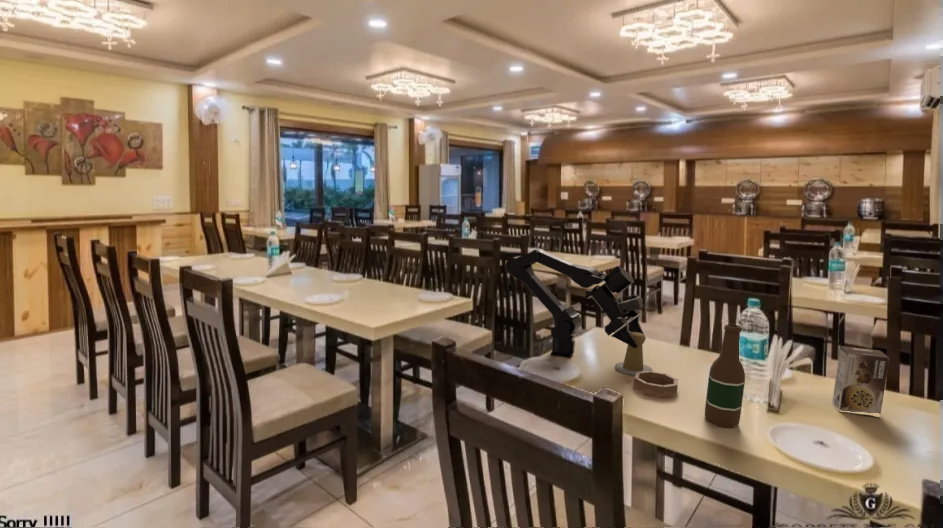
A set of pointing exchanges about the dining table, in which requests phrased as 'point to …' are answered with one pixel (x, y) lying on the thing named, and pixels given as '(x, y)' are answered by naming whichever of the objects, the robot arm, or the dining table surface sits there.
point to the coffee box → (860, 380)
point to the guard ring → (653, 389)
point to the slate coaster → (621, 369)
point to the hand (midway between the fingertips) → (640, 343)
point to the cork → (635, 354)
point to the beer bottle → (726, 382)
